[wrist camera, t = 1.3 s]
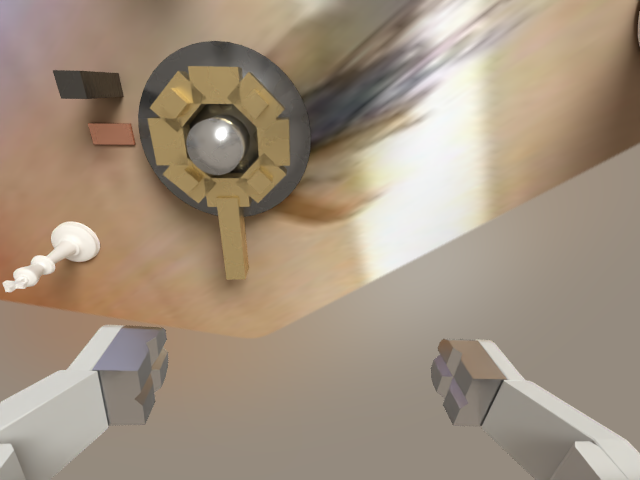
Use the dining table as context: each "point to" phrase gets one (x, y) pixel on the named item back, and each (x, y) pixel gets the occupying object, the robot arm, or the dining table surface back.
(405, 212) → the dining table surface
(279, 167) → the gold ring with handle
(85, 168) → the dining table surface
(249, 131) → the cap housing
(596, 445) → the robot arm
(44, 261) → the chess piece
